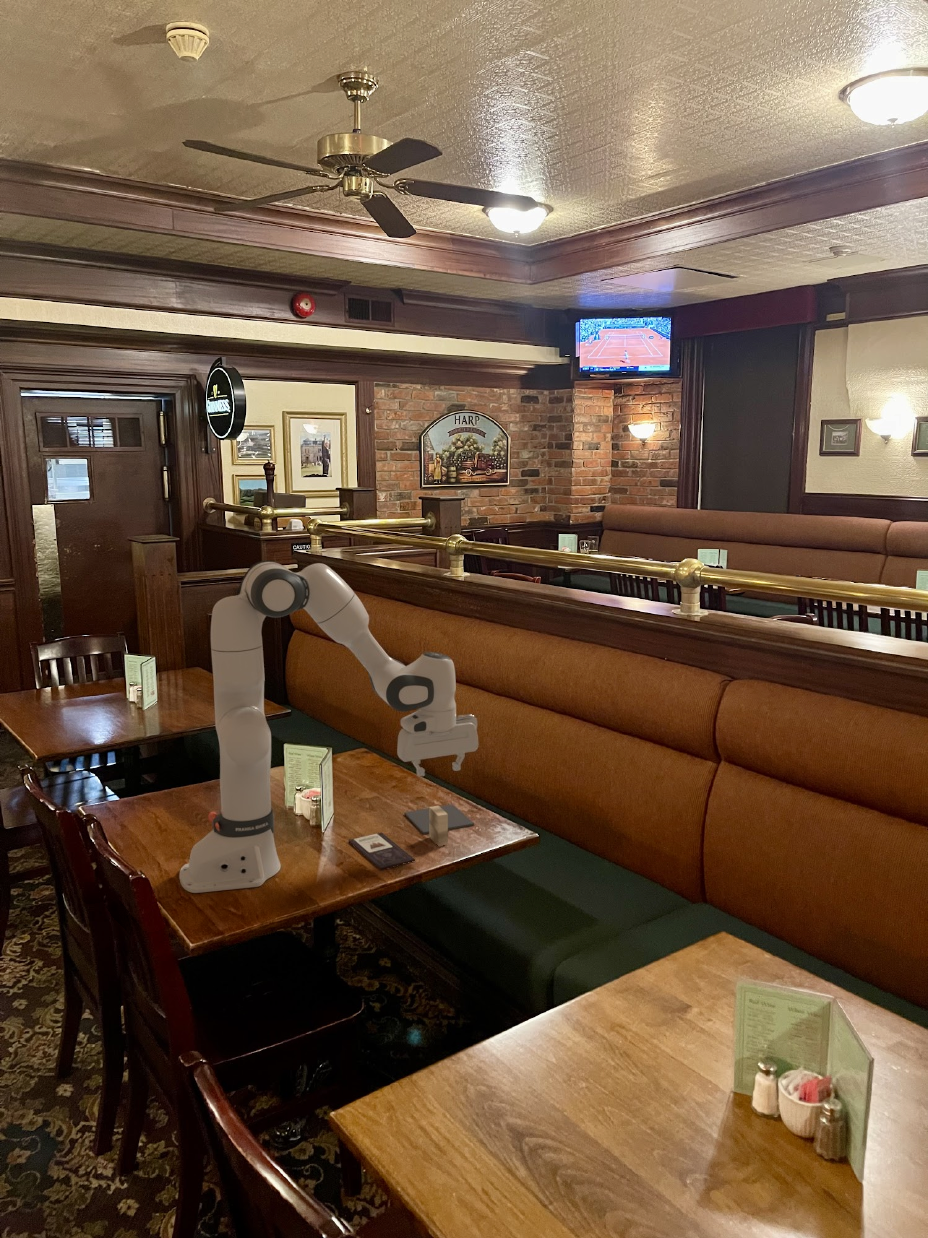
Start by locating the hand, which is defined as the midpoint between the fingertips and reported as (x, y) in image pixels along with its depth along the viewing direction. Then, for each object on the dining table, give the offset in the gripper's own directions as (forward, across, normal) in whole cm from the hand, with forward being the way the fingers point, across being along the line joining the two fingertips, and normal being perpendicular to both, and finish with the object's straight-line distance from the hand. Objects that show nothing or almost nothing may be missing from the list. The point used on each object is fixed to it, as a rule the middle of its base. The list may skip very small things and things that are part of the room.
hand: (438, 772), depth 224 cm
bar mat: (+18, -5, -12) cm, 22 cm away
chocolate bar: (+18, +15, 0) cm, 24 cm away
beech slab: (+18, 0, 0) cm, 18 cm away
